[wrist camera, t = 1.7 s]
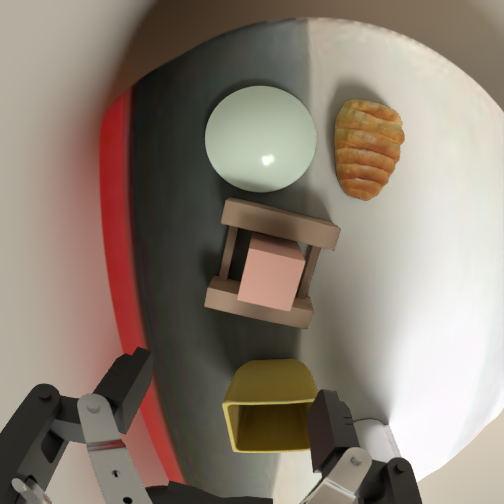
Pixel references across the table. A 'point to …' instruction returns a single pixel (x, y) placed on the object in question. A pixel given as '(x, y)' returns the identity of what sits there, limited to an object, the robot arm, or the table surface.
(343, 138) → the pastry
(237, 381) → the flower pot
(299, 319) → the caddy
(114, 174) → the table surface
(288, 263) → the part
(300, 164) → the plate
